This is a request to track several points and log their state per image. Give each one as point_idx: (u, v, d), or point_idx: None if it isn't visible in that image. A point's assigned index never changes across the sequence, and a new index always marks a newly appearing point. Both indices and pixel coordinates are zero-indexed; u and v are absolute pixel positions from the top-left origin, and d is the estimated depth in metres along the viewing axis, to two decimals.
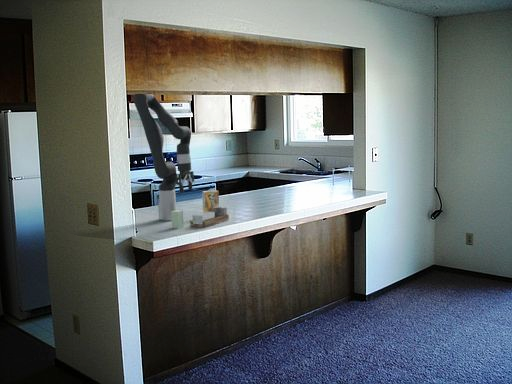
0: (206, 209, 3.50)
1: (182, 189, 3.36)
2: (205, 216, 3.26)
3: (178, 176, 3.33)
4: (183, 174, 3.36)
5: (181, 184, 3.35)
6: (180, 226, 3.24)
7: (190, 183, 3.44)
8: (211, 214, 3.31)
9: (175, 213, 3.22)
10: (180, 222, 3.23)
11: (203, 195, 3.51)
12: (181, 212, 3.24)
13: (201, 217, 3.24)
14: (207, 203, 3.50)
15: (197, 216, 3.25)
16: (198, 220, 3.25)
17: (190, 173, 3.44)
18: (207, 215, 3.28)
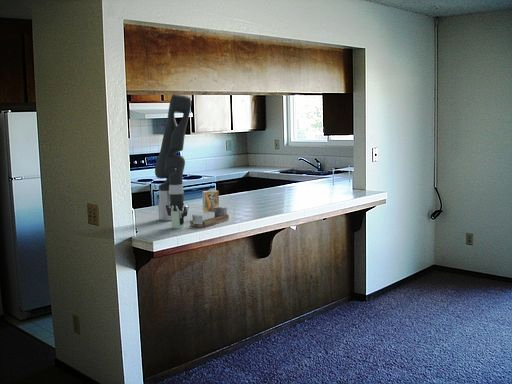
0: (206, 209, 3.50)
1: None
2: (205, 216, 3.26)
3: (187, 208, 3.22)
4: None
5: None
6: (180, 226, 3.24)
7: None
8: (211, 214, 3.31)
9: (175, 213, 3.22)
10: None
11: (203, 195, 3.51)
12: None
13: (201, 217, 3.24)
14: (207, 203, 3.50)
15: (197, 216, 3.25)
16: (198, 220, 3.25)
17: None
18: (207, 215, 3.28)
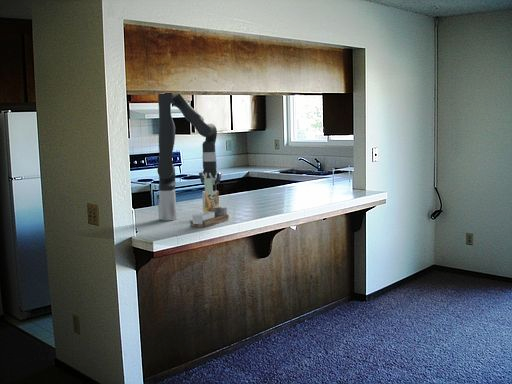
0: (206, 209, 3.50)
1: None
2: (205, 216, 3.26)
3: (220, 175, 3.32)
4: None
5: None
6: (213, 193, 3.35)
7: None
8: (211, 214, 3.31)
9: (208, 180, 3.33)
10: None
11: (203, 195, 3.51)
12: None
13: (201, 217, 3.24)
14: (207, 203, 3.50)
15: (197, 216, 3.25)
16: (198, 220, 3.25)
17: None
18: (207, 215, 3.28)
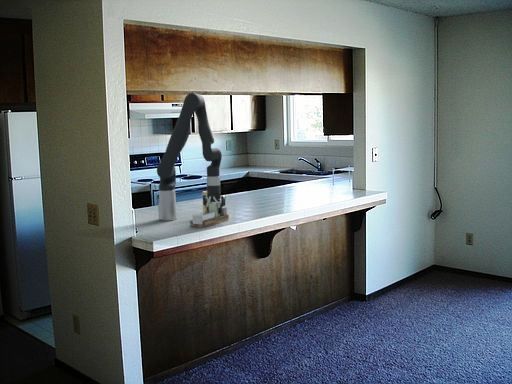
0: (206, 209, 3.50)
1: None
2: (205, 216, 3.26)
3: (224, 198, 3.36)
4: None
5: None
6: None
7: None
8: (211, 214, 3.31)
9: (212, 205, 3.37)
10: (217, 214, 3.38)
11: None
12: None
13: (201, 217, 3.24)
14: None
15: (197, 216, 3.25)
16: (198, 220, 3.25)
17: None
18: (207, 215, 3.28)
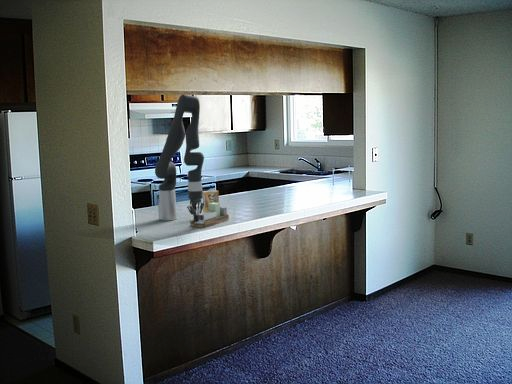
0: (206, 209, 3.50)
1: None
2: (207, 215, 3.27)
3: None
4: None
5: (196, 213, 3.26)
6: None
7: None
8: (213, 214, 3.32)
9: (212, 205, 3.37)
10: (217, 214, 3.38)
11: (203, 195, 3.51)
12: (218, 204, 3.39)
13: (203, 216, 3.25)
14: (207, 203, 3.50)
15: (199, 215, 3.26)
16: (200, 219, 3.26)
17: None
18: (209, 214, 3.29)
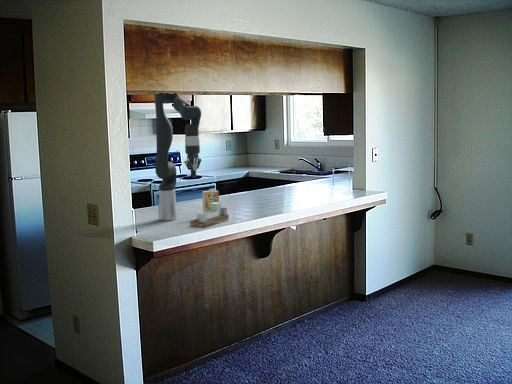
0: (206, 209, 3.50)
1: None
2: (209, 215, 3.29)
3: None
4: None
5: None
6: None
7: None
8: (215, 213, 3.34)
9: (214, 205, 3.38)
10: (218, 213, 3.39)
11: (203, 195, 3.51)
12: (219, 204, 3.40)
13: (205, 216, 3.27)
14: (207, 203, 3.50)
15: (201, 215, 3.28)
16: (202, 219, 3.28)
17: None
18: (211, 214, 3.31)
